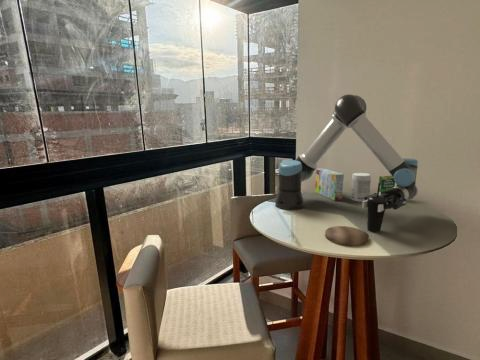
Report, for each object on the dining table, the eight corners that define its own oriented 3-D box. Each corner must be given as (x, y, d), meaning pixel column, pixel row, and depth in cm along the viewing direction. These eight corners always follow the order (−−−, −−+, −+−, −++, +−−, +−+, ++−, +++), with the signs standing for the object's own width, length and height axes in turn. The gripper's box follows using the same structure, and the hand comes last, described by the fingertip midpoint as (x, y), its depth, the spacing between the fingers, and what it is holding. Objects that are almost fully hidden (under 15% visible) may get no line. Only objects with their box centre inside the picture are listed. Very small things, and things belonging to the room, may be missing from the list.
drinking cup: (379, 226, 124) (385, 181, 119) (386, 234, 117) (393, 186, 112) (361, 225, 125) (366, 180, 120) (367, 233, 118) (372, 185, 113)
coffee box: (379, 199, 164) (381, 176, 161) (377, 198, 167) (379, 175, 164) (393, 199, 164) (396, 176, 161) (391, 197, 167) (393, 175, 164)
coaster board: (329, 245, 107) (330, 241, 107) (321, 229, 123) (321, 225, 122) (375, 246, 106) (375, 242, 105) (361, 229, 121) (361, 226, 121)
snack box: (342, 200, 164) (344, 173, 161) (334, 201, 162) (335, 174, 159) (322, 191, 184) (323, 167, 181) (314, 192, 182) (315, 168, 179)
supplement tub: (372, 199, 164) (374, 174, 161) (364, 203, 157) (366, 176, 154) (355, 196, 171) (357, 171, 167) (347, 200, 164) (349, 174, 161)
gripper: (418, 208, 124) (394, 221, 110) (374, 199, 138) (348, 210, 124) (420, 191, 122) (396, 202, 108) (375, 184, 137) (349, 193, 122)
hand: (370, 206), depth 116 cm, fingers closed on drinking cup, 6 cm apart
